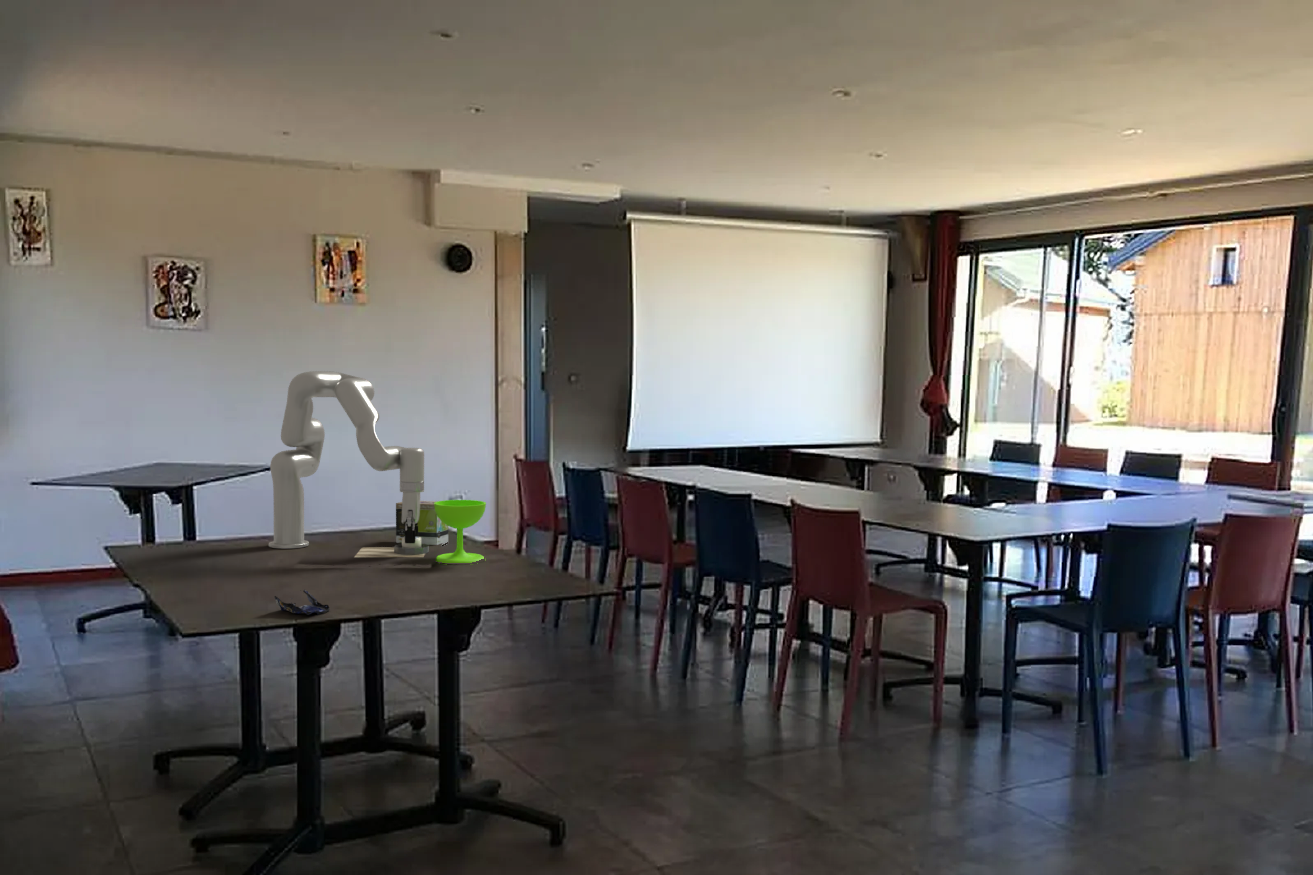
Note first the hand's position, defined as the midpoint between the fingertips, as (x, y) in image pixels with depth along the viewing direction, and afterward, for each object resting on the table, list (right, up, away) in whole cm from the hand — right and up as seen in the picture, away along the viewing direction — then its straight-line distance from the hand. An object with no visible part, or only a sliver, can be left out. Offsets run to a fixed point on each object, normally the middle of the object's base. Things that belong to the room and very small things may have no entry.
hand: (411, 540), depth 345 cm
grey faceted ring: (0, -4, 0) cm, 4 cm away
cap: (0, -4, 0) cm, 4 cm away
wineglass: (+16, -6, -6) cm, 18 cm away
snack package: (-8, -10, -80) cm, 81 cm away
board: (-6, -5, 0) cm, 8 cm away
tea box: (-1, -4, +21) cm, 22 cm away
